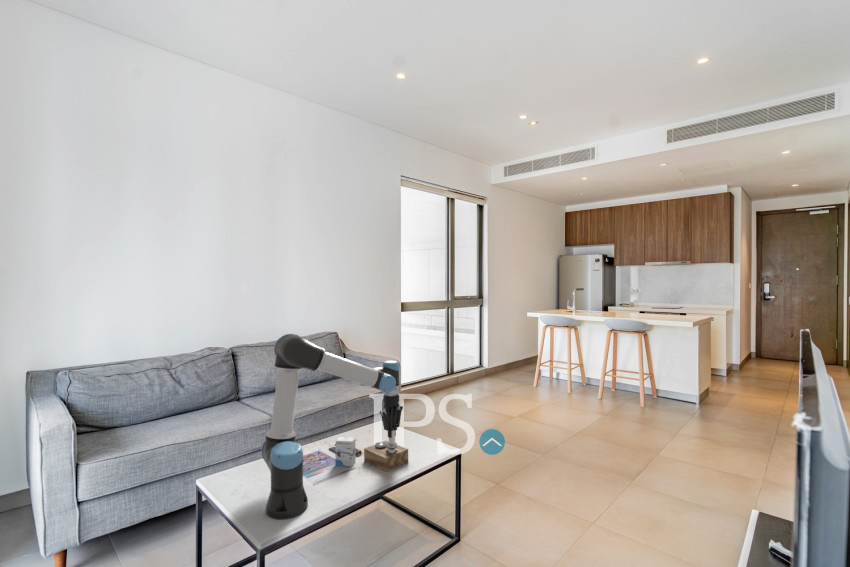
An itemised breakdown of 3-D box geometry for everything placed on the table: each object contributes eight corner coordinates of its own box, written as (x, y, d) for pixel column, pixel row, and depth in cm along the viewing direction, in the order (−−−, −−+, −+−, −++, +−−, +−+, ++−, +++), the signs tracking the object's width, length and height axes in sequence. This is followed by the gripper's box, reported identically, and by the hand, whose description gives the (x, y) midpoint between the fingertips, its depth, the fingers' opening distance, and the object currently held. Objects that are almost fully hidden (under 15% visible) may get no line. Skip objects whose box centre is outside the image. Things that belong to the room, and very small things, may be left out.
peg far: (380, 461, 199) (380, 447, 199) (373, 458, 203) (373, 444, 203) (388, 458, 203) (388, 443, 203) (381, 455, 206) (381, 441, 206)
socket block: (386, 471, 189) (385, 458, 189) (364, 460, 200) (364, 448, 200) (408, 461, 199) (408, 449, 199) (386, 452, 211) (386, 440, 210)
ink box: (334, 465, 195) (334, 440, 195) (338, 461, 200) (338, 436, 200) (352, 466, 195) (352, 441, 194) (355, 461, 200) (355, 437, 200)
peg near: (391, 462, 193) (391, 447, 193) (383, 459, 197) (383, 444, 197) (399, 458, 197) (399, 444, 197) (392, 455, 201) (392, 441, 201)
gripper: (386, 398, 190) (386, 450, 190) (406, 392, 199) (407, 441, 199) (375, 395, 195) (376, 445, 195) (396, 389, 204) (396, 437, 204)
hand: (391, 443), depth 197 cm, fingers closed
